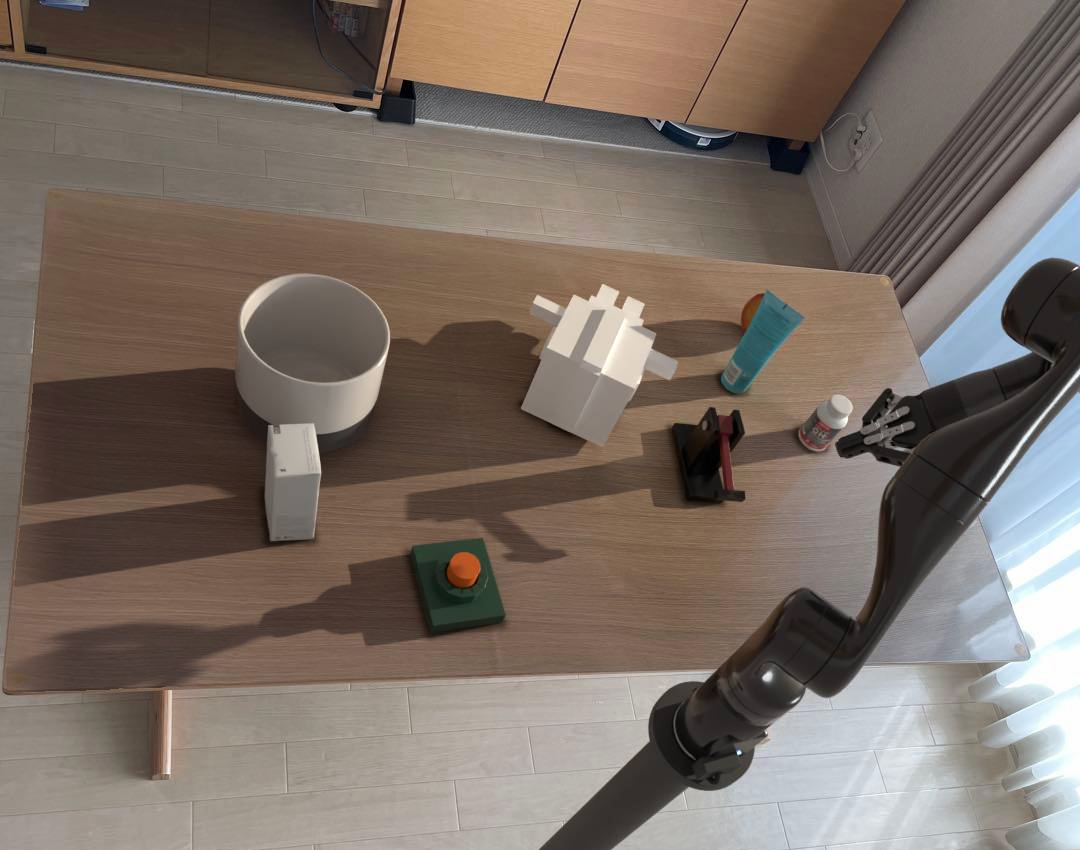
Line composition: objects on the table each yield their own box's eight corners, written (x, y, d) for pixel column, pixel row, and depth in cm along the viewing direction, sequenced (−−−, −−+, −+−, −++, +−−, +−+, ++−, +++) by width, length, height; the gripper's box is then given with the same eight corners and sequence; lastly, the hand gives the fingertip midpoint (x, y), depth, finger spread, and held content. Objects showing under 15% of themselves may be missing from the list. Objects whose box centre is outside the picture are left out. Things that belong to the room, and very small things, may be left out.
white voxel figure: (671, 362, 173) (632, 469, 154) (540, 300, 172) (485, 400, 154) (707, 297, 162) (670, 404, 143) (567, 231, 161) (512, 330, 143)
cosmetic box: (313, 540, 133) (325, 477, 121) (266, 542, 130) (273, 478, 119) (306, 487, 137) (317, 421, 125) (261, 489, 135) (267, 422, 123)
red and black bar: (740, 503, 149) (747, 497, 146) (712, 501, 147) (719, 495, 145) (731, 423, 153) (738, 416, 151) (704, 420, 152) (711, 413, 150)
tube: (756, 387, 173) (811, 309, 157) (745, 402, 170) (800, 325, 154) (720, 363, 173) (771, 283, 158) (709, 378, 171) (759, 298, 155)
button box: (502, 622, 134) (509, 608, 131) (429, 633, 130) (435, 619, 127) (479, 545, 139) (486, 530, 136) (409, 553, 136) (414, 538, 132)
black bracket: (721, 503, 156) (755, 459, 147) (686, 500, 154) (718, 456, 145) (704, 431, 163) (736, 385, 154) (671, 428, 162) (700, 381, 152)
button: (479, 586, 132) (483, 576, 130) (450, 590, 130) (454, 580, 128) (471, 560, 133) (476, 550, 131) (443, 563, 132) (447, 553, 130)
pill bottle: (799, 448, 167) (828, 412, 159) (795, 423, 170) (824, 387, 163) (828, 455, 168) (859, 419, 161) (824, 430, 171) (854, 394, 164)
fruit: (781, 336, 182) (802, 305, 175) (758, 356, 177) (779, 325, 171) (748, 309, 183) (767, 278, 177) (724, 328, 179) (744, 296, 172)
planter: (355, 356, 152) (372, 271, 138) (385, 459, 143) (405, 380, 129) (223, 363, 144) (226, 274, 130) (245, 473, 135) (251, 390, 121)
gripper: (945, 352, 134) (818, 399, 140) (977, 431, 127) (842, 477, 133) (955, 381, 139) (833, 426, 146) (985, 459, 132) (856, 502, 139)
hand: (837, 450), depth 139 cm, fingers closed
